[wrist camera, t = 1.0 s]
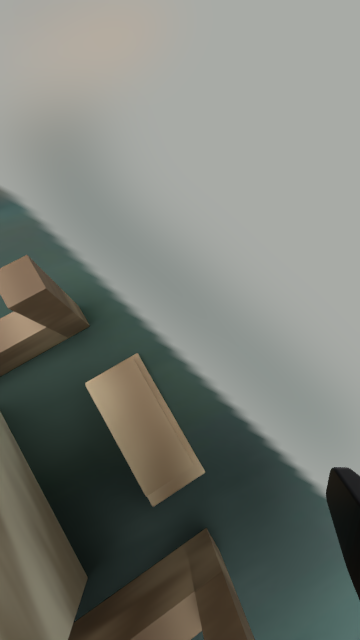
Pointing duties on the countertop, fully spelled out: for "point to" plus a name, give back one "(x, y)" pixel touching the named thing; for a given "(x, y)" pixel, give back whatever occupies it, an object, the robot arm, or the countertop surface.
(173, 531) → the countertop surface
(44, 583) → the cream flat block
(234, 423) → the countertop surface
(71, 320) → the light wood rack
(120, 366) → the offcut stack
